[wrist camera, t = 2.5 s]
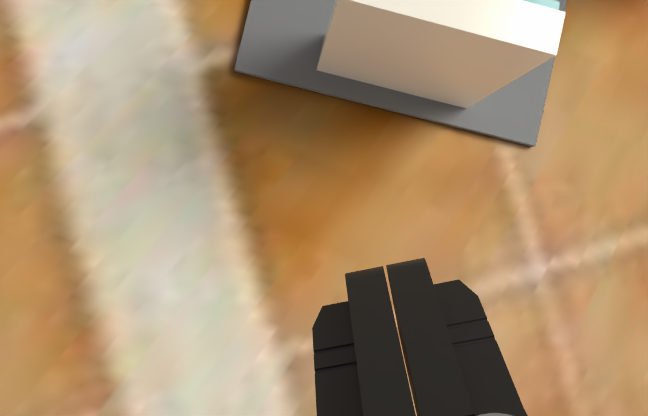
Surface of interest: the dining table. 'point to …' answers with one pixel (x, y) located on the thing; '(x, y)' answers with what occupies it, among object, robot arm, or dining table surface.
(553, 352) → the dining table surface
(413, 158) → the dining table surface
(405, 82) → the tile
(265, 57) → the mat
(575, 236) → the dining table surface
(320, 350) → the robot arm
